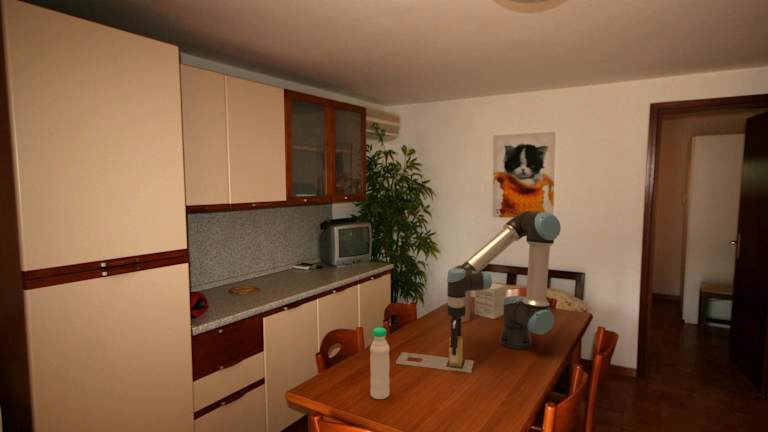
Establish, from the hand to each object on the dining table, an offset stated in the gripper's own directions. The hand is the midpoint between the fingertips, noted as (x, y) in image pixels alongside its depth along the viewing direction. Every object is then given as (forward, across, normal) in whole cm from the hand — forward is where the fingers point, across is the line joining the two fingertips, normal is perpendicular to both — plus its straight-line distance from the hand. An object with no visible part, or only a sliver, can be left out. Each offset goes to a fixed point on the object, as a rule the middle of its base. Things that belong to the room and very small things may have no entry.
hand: (455, 357), depth 186 cm
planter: (+4, -64, -6) cm, 64 cm away
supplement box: (+4, -79, +9) cm, 80 cm away
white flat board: (+4, 0, -9) cm, 10 cm away
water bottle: (+4, +34, -23) cm, 41 cm away
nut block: (+3, 0, 0) cm, 3 cm away
